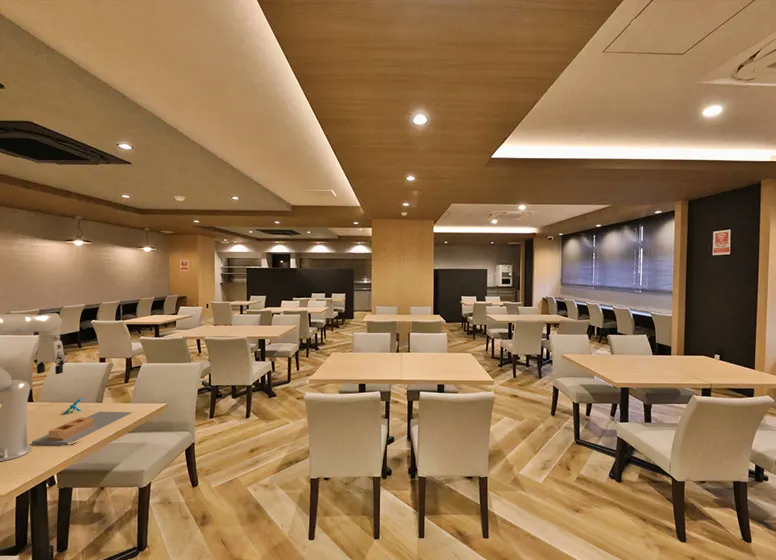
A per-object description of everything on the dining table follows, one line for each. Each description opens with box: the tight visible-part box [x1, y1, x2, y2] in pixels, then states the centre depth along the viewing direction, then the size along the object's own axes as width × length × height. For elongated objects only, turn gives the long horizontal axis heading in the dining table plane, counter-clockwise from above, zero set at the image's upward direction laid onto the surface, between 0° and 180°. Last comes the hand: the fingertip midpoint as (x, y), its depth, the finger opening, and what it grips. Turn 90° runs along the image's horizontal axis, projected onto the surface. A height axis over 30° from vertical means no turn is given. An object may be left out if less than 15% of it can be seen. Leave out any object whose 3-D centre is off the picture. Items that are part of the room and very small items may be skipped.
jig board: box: [31, 411, 134, 446], centre depth 182 cm, size 36×19×4 cm, turn 177°
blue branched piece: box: [63, 397, 82, 415], centre depth 203 cm, size 11×6×10 cm
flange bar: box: [48, 416, 94, 440], centre depth 174 cm, size 16×7×4 cm, turn 177°
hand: (50, 373), depth 180 cm, fingers open, 9 cm apart
